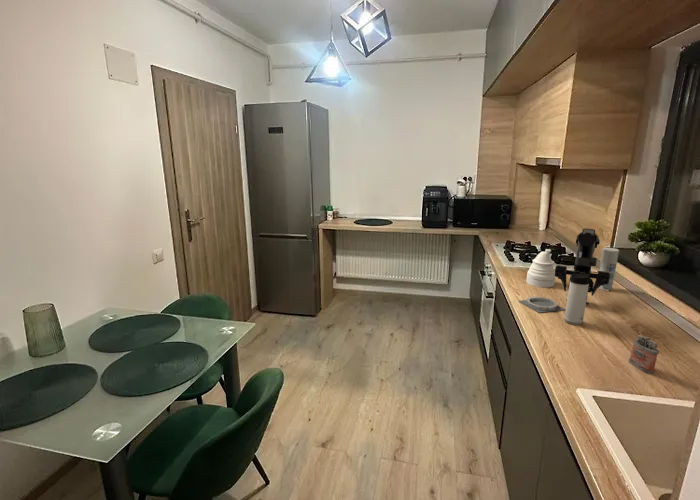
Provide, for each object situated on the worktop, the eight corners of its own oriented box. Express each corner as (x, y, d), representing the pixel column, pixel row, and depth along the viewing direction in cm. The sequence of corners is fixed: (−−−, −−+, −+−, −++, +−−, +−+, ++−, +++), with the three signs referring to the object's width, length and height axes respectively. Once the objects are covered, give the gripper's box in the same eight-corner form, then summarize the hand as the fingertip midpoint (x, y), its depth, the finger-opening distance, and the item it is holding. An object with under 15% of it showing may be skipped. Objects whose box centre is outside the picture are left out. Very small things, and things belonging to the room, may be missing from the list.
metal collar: (543, 298, 173) (543, 295, 172) (563, 308, 161) (563, 305, 161) (520, 301, 170) (520, 298, 170) (539, 311, 159) (539, 308, 158)
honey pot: (559, 284, 192) (564, 249, 187) (545, 289, 185) (550, 253, 180) (535, 277, 202) (539, 244, 198) (521, 282, 195) (524, 248, 191)
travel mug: (586, 326, 146) (594, 277, 141) (567, 324, 148) (574, 276, 143) (580, 319, 152) (587, 271, 147) (562, 318, 154) (568, 271, 148)
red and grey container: (625, 360, 122) (631, 332, 120) (635, 359, 123) (641, 331, 120) (646, 374, 115) (653, 344, 112) (657, 374, 115) (663, 344, 112)
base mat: (543, 298, 173) (543, 298, 173) (565, 310, 161) (565, 309, 161) (518, 301, 170) (518, 300, 170) (538, 313, 158) (539, 312, 158)
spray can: (602, 285, 189) (609, 247, 184) (615, 290, 183) (622, 250, 178) (593, 287, 187) (599, 248, 182) (605, 291, 181) (612, 251, 176)
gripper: (558, 246, 154) (551, 279, 148) (613, 252, 144) (609, 288, 138) (558, 260, 162) (551, 292, 156) (610, 266, 152) (605, 301, 146)
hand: (578, 293), depth 149 cm, fingers open, 9 cm apart
